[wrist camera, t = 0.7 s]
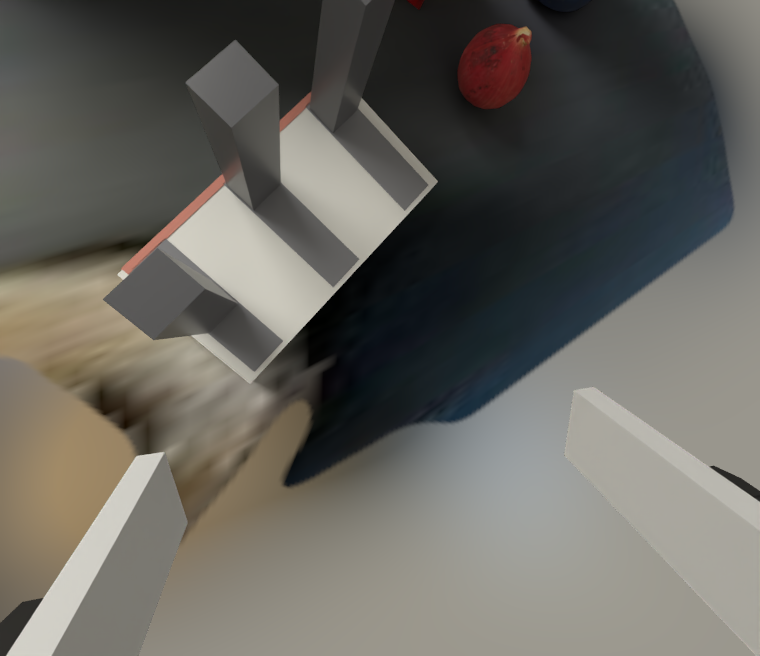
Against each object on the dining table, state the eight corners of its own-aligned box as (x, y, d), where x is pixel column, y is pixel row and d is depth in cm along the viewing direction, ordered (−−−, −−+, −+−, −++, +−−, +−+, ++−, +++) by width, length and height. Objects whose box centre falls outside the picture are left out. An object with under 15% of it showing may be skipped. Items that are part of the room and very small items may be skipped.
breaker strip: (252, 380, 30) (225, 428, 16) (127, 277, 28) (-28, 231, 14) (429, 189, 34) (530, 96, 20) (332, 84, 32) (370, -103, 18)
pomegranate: (449, 128, 35) (497, 72, 27) (438, 65, 34) (483, -11, 26) (503, 123, 36) (564, 69, 28) (493, 63, 36) (551, -10, 28)
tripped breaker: (208, 333, 27) (153, 340, 16) (181, 310, 27) (102, 299, 15) (238, 303, 28) (205, 288, 16) (211, 280, 27) (157, 247, 16)
